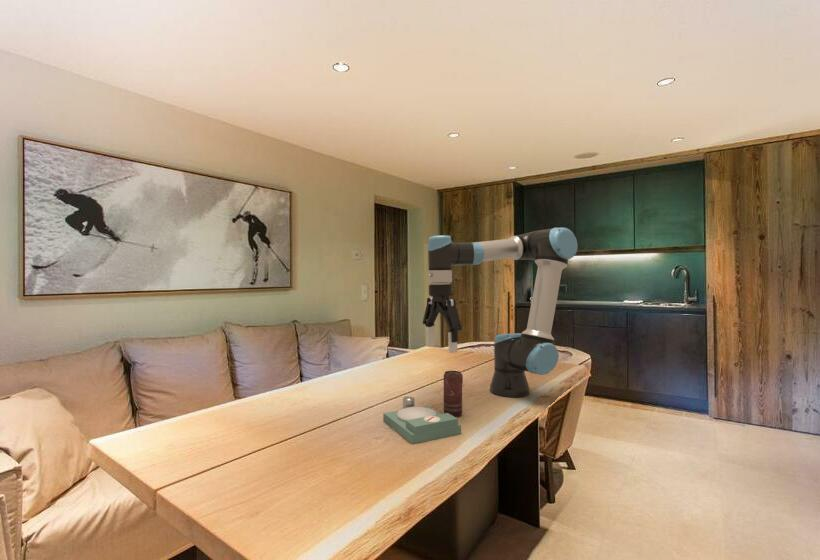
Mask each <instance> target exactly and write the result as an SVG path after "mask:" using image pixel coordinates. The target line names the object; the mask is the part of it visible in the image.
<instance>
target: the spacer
mask: <svg viewBox="0 0 820 560" xmlns="http://www.w3.org/2000/svg"><path fill="white" fill-rule="evenodd" d="M415 400H416V399H415V397H414V396H404V397H402V409H404V408H408V407H416V404H415V403H416V402H415Z"/></svg>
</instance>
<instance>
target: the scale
mask: <svg viewBox="0 0 820 560" xmlns="http://www.w3.org/2000/svg"><path fill="white" fill-rule="evenodd" d="M458 418H459V417H454V416H452V415H450V414H449V413H444V412H443V413H441V412H439V411H438V410H436V409H435V408H432V407H430V406H428V405H423V406H415V407H408V408H404V409H403V408H401V409H399V410H394V411H387V412H383V422H384V423H386V425H388V426H389V427H390V428H391V429H392V430H394V431H395V432H397V434H398V435H400V436H401V437H402V438H404V439H405V440H406V441H408V442H409V443H410V444H411V445H414V444H415V445H416V444H419V443H425V442H428V441H434V440H438V439H444V438H448V437H452V436H458V435H461V434H462V425H461V424H460V423H459V419H458Z"/></svg>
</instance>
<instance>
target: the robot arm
mask: <svg viewBox="0 0 820 560" xmlns="http://www.w3.org/2000/svg"><path fill="white" fill-rule="evenodd" d="M578 246H579V245H578V240H577V237H576V236H575V234H574V232H573V231H572V230H571V229H570V228H567V227H553V228H547V229H541V230H540V229H539V230H533V231H531V232H526V233H522V234H517V235H512V236H510V237H509V238H505V239H495V240H494V239H493V240H486V241H485V240H484V241H475V242H453V241H452V237H451V235H443V234H442V235H440V234H439V235H431V236H430V237H429V238H428V242H427V259H428V260H427V262H428V265H427V267H428V275H427V276H428V283H430V284H429V285H428V295H429V296H430V297H427V299H426V307H425V311H424V315H423V319H422V325H425V327H426V347H435V346H436V327H435V326H436V325H435V322H436V320H437V317H438V316H439V314H441V315H442V316H443V318H444V320H445V323H446V325H447V328H448V329H449V330H448V331H447V333H448V336H447V337H448V339H447V340H448V353H449V354H454V353H456V354H457V353H458V332H459V331H462V330H463V328H462V324H461V323H462V322H461V320H460V316H459V313H458V309H457V305H456V304H457V302H456V299H450V297H451V296H452V295H453V285H452V282H453V271H452V270H453V269H452V267H453V266H477V265H478V266H479V265H481V264H482V263H483V262H489V261H490V262H491V261H498V260H506V259H507V260H508V259H511V260H513V261H518V260H522V261H524V260H525V261H526V260H527V261H528V260H529V261H534V263H535V264H536V266H537V271H536V276H535V281H534V287H533V290H532V291H533V292H532V298H531V302H530V303H531V304H530V308H529V309H530V310H529V314H528V318H527V319H528V321H527V325H526V329H524V330H523V331H522V332H521V333H519V332H517V333H513V332H512V333H501V334H497V335H495V336H494V342H493V347H494V350H493V352H494V359H493V360H494V361H493V363H494V370H493V371H494V372H493V375H492V379H491V382H490V386H489V391H490V393H491V394H493V395H496V396H498V397H499V396H501V397H507V398H521V397H523V398H524V397H526V396H529V394H530V385H529V383H528V380H527V376H526V372H528V373H530V374H532V375H533V374H534V375H538V376H544V375H548V374H549V373H551V372H552V371H553V370H554V369H555V368H556V367H557V365H558V361H559V358H560V357H559V355H560V354H559V351H558V348H557V346H555V345H554V344H555V338H554V337H553V335H552V331H553V330H552V328H553V324H554V323H553V322H554V317H555V312H556V307H557V306H556V305H557V301H558V295H559V290H560V283H561V277H562V272H563V270H564V269H566V268H567V267H568V264H569V260H570V259H573V258H574V256H576V254H577V252H578Z"/></svg>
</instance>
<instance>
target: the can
mask: <svg viewBox="0 0 820 560" xmlns="http://www.w3.org/2000/svg"><path fill="white" fill-rule="evenodd" d="M463 380H464V376H463V373H462V372H461V371H460V370H459V371H458V370H447V371H444V374H443V414H444V413H449V414H450V415H452V416H454V417H456V418H459V417H461V416H462V415H463V383H464V382H463Z"/></svg>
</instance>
